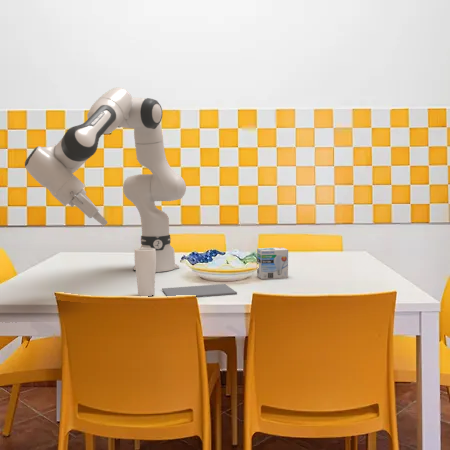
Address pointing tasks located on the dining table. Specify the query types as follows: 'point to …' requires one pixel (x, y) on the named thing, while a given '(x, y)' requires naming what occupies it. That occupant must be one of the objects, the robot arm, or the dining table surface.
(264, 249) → the light bulb box
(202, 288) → the slate rubber mat
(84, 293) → the dining table surface
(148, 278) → the drinking glass
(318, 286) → the dining table surface
